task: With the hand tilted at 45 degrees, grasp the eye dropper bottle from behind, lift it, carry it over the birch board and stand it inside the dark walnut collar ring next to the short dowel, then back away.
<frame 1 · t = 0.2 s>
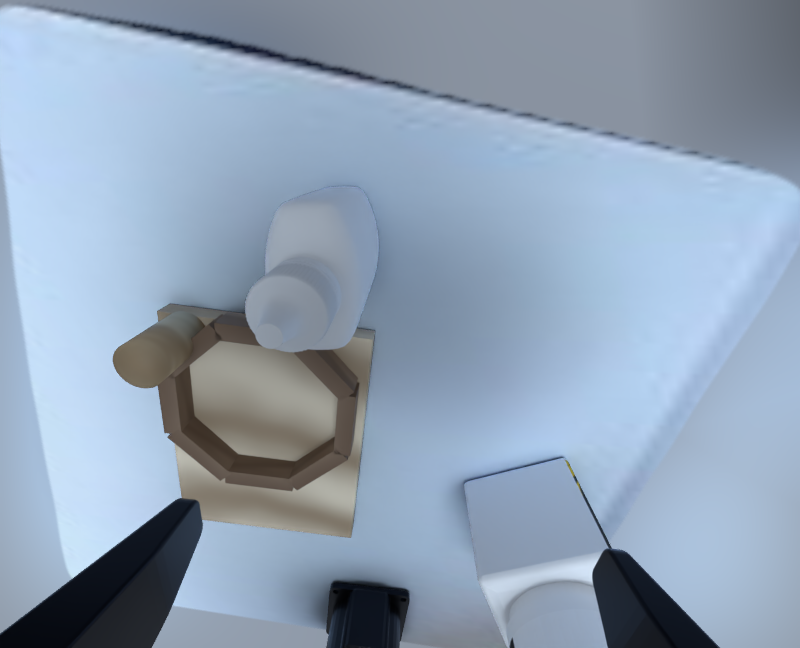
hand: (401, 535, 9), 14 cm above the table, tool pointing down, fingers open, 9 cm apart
board: (273, 427, 26), on the table
medicine bottle: (523, 501, 28), on the table
eye dropper bottle: (348, 240, 21), on the table
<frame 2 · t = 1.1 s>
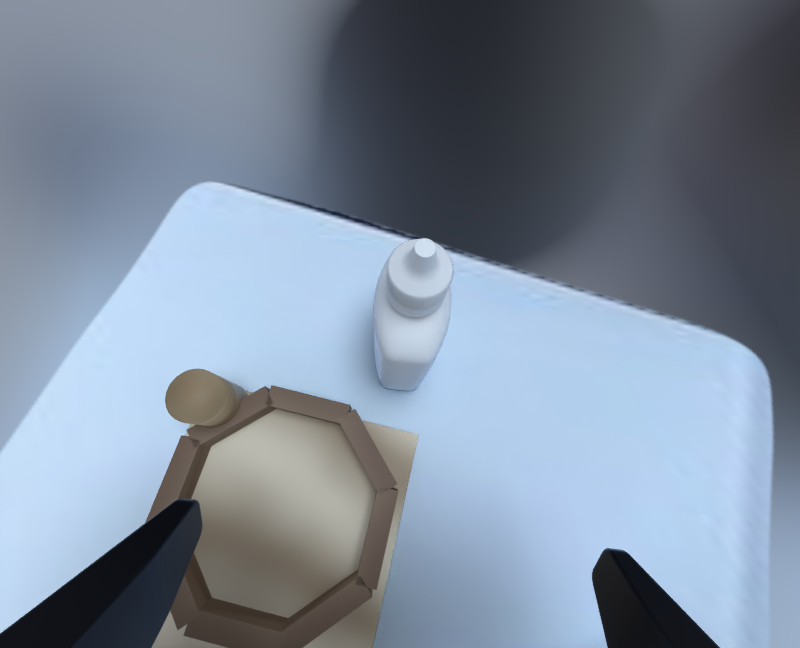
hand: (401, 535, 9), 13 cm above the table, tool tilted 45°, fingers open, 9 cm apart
board: (268, 565, 20), on the table
eye dropper bottle: (402, 347, 24), on the table
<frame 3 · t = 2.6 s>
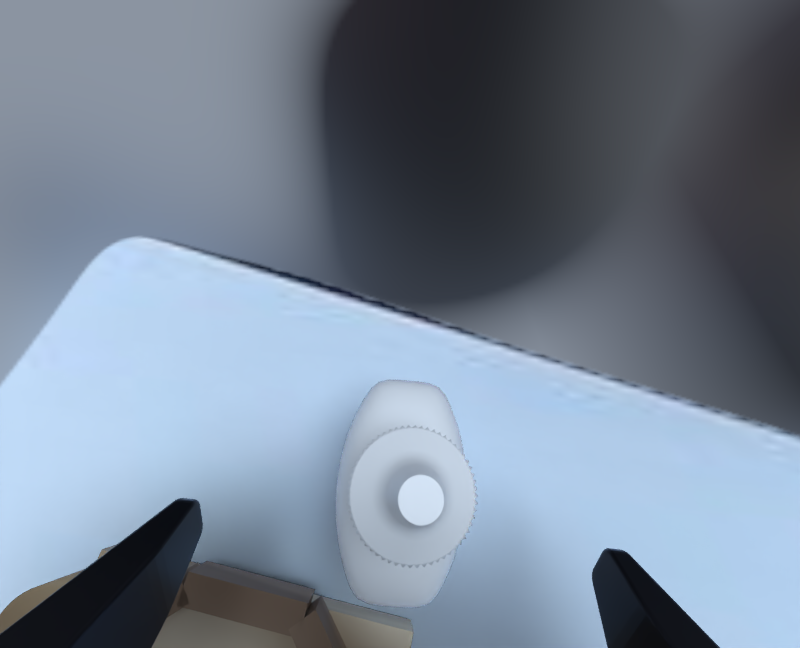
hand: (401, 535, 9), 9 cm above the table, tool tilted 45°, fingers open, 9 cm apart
eye dropper bottle: (391, 474, 17), on the table
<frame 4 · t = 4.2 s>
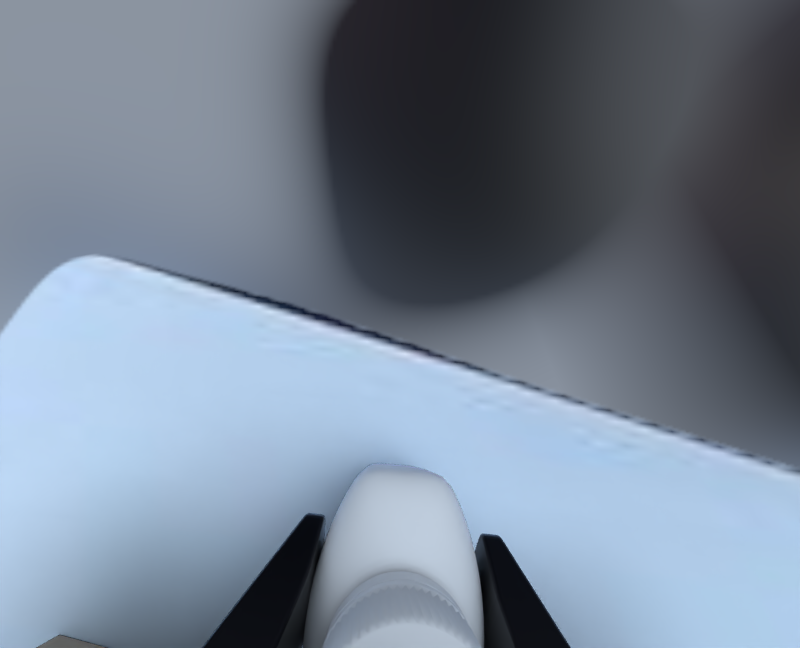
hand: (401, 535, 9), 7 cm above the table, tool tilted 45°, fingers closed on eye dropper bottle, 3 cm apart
eye dropper bottle: (386, 543, 14), on the table, touching gripper
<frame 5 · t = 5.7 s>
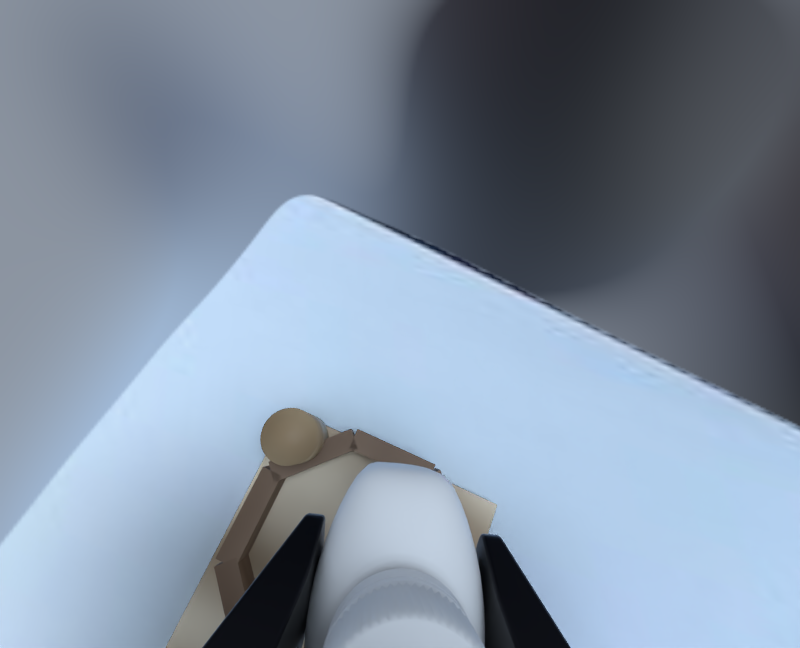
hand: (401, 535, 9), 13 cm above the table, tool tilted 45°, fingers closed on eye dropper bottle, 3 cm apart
board: (324, 611, 19), on the table
eye dropper bottle: (387, 541, 14), point 6 cm above the table, touching gripper
when the fingers open (8 cm above the table, at t = 7.3 s): eye dropper bottle stays where it is, resting on board.
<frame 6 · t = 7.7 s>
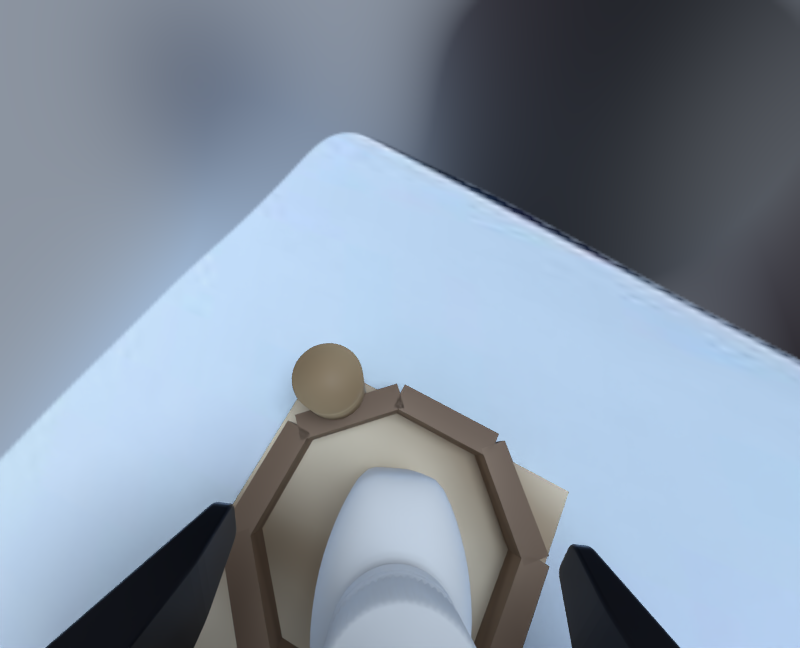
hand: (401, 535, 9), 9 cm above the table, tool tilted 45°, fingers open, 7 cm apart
board: (350, 608, 15), on the table
eye dropper bottle: (385, 542, 15), point 1 cm above the table, touching board
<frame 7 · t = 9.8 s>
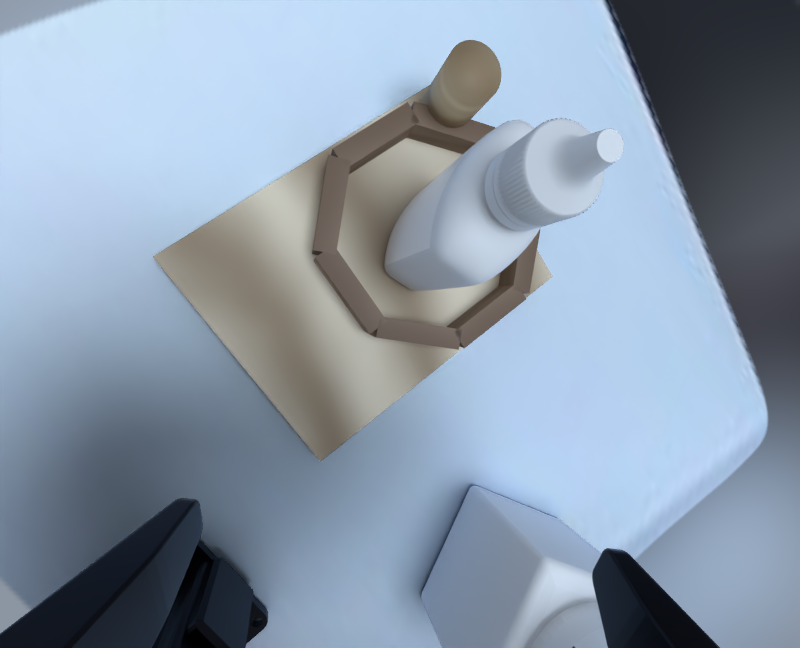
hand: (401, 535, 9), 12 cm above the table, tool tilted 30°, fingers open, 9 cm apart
board: (375, 270, 20), on the table
medicine bottle: (491, 553, 23), on the table
eye dropper bottle: (423, 237, 20), point 1 cm above the table, touching board
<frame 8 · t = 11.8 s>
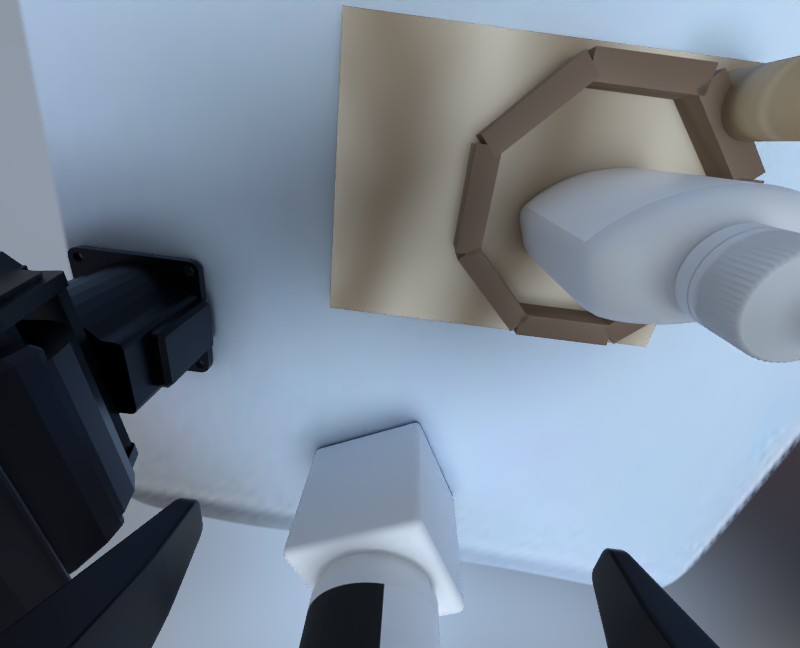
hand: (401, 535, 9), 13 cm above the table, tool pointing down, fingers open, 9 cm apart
board: (512, 200, 18), on the table
medicine bottle: (386, 471, 26), on the table
eye dropper bottle: (581, 212, 17), point 1 cm above the table, touching board
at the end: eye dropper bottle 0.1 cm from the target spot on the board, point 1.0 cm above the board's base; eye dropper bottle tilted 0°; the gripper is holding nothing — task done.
